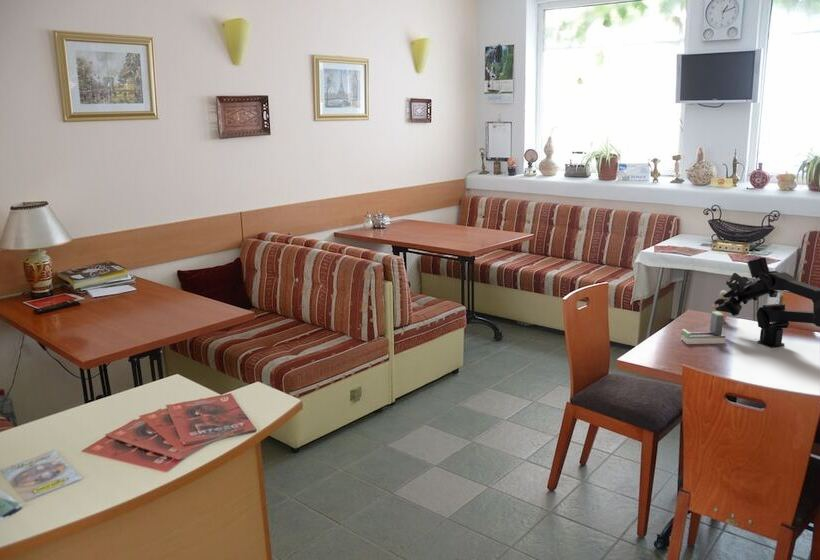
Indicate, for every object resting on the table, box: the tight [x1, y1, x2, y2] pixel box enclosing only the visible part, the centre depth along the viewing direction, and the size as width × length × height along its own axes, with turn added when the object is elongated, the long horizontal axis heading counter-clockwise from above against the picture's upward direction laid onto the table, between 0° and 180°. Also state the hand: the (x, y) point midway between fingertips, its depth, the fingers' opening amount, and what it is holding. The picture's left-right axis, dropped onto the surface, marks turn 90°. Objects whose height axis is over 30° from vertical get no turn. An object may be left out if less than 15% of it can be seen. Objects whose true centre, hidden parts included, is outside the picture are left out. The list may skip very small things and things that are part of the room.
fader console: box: [680, 328, 726, 345], centre depth 252 cm, size 14×5×4 cm, turn 93°
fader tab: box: [709, 310, 724, 335], centre depth 251 cm, size 3×4×8 cm
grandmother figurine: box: [711, 289, 728, 323], centre depth 275 cm, size 8×4×13 cm, turn 68°
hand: (719, 302), depth 265 cm, fingers open, 9 cm apart
